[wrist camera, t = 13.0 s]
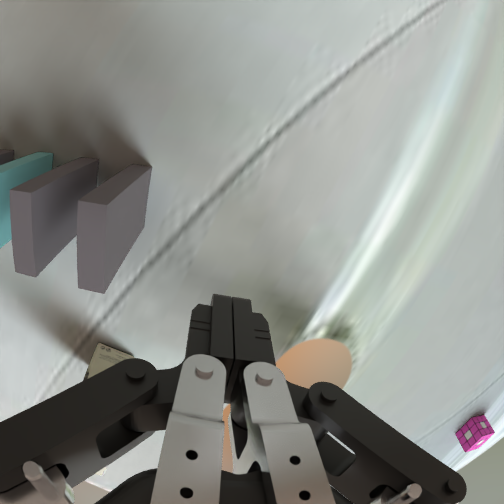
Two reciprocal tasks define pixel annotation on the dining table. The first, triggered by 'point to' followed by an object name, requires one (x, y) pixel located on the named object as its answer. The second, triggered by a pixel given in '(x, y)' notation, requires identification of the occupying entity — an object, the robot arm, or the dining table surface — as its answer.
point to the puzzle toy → (474, 433)
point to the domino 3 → (48, 213)
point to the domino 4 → (110, 225)
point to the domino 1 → (6, 156)
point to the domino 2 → (14, 175)
